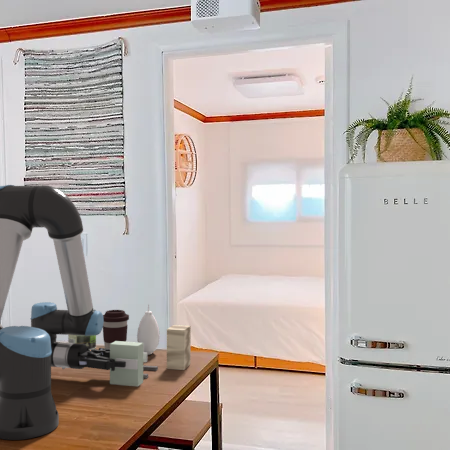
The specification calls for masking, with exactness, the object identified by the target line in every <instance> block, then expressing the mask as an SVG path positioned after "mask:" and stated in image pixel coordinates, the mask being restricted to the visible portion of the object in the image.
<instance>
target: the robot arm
mask: <svg viewBox="0 0 450 450" xmlns="http://www.w3.org/2000/svg"><path fill="white" fill-rule="evenodd" d="M34 228H44V229H46V230H47V234H48V238H50V239H52V240H53V245H54V249H55V254H56V259H57V265H58V269H59V274H60V279H61V284H62V288H63V294H64V298H65V303H66V309H58V307H57V304H56V303H55V302H50V301H49V302H48V301H47V302H46V301H43V302H37V303H34V304H33V305H32V306H31V311H30V313H31V314H30V326H27V325H12V326H4V327H3V325H2V324H1V323H0V440H1V439H2V440H7V441H16V440H17V441H19V440H21V441H22V440H27V439H33V438H38V437H41V436H44V435H46V434H49V433H51V432H53V431H55V429H56V428H58V426H59V424H60V421H59V420H60V419H59V417H60V416H59V412H58V410H57V406H56V403H55V400H54V398H53V394H52V367H53V368H61V369H62V370H65V369H73V370H74V369H75V370H83V369H84V368H89V369H98V370H105V371H110V368H111V371H115V367H116V368H122V369H135V370H137V369H138V360H135V359H122V358H116V361H115V359H111V358H110V349H106V348H105V347H99V348H98V349H97V348H96V349H92V350H91V351H90V350H89V349H88V347H87V346H86V345H85V344H77V343H74V344H73V343H68V342H61V341H60V342H59V341H57V335H61V336H62V335H63V336H64V335H65V336H66V335H85V336H92V335H96V336H99V335H100V334H101V332H103V322H104V319H103V315H104V314H103V313H102V311H100V310H96V309H94V306H93V299H92V294H91V288H90V287H91V286H90V283H89V282H90V281H89V277H88V276H89V275H88V272H87V264H86V260H85V254H84V248H83V241H82V236H81V235H82V233H83V232H84V226H83V221H82V218H81V214H80V213H79V211H78V209H77V206H76V205H75V203H73V201H72V200H71V198H70V197H69V196H67V194H66V193H64V192H63V191H62V190H61V189H60V188H56V187H53V186H51V185H12V184H6V185H0V321H1V320H2V317H3V313H4V310H5V306H6V302H7V300H8V295H9V292H10V288H11V285H12V282H13V279H14V274H15V271H16V267H17V263H18V261H19V258H20V253H21V249H22V247H23V243H24V241H25V240H28V239H29V238H30V237H31V236H32V232H33V229H34ZM94 310H95V311H94ZM147 362H148V353H143V363H147Z"/></svg>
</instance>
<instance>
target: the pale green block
mask: <svg viewBox="0 0 450 450" xmlns="http://www.w3.org/2000/svg"><path fill="white" fill-rule="evenodd" d="M110 358H111V359H115V361H116V358H122V359H135V360H138V369H137V370H135V369H122V368H116V367H115V371H111V368H110V370H109V385H117V386H127V387H128V386H129V387H140V386H141V385H142V384H143V383H144V378H143V374H144V370H143V365H144V362H143V343H139V342H138V341H137V342H136V341H135V342H134V341H126V342H124V341H115V342H113V343H111V344H110Z"/></svg>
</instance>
